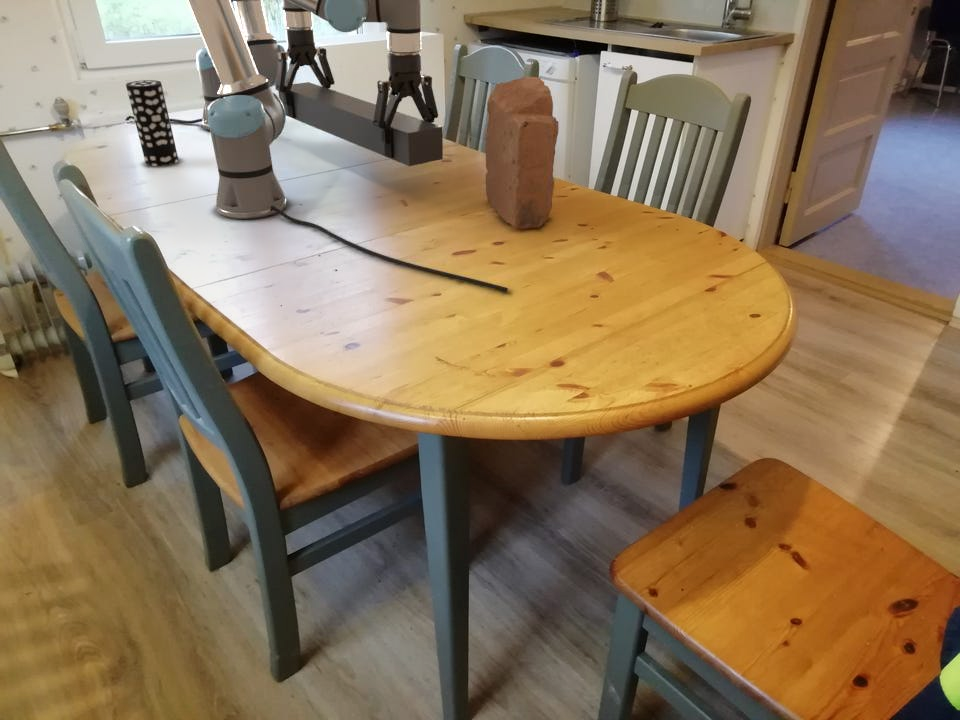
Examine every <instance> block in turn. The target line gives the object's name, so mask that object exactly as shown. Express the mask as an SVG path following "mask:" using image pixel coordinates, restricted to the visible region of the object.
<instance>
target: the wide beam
mask: <svg viewBox="0 0 960 720" xmlns="http://www.w3.org/2000/svg"><path fill="white" fill-rule="evenodd" d="M277 91H278V90H277ZM290 93H293V99H294V108H295V116H296V118H292V117H289V116H288V108H287V105H285V104H284V98H283V93H282V92H280V91H278V97H279V99H280V100H281V102H282V103H283V106H284V108H285V113H286V117H288V118H291V119H293V120H296V121H298V122H301V123H303V124H305V125H308V126H310V127H312V128H316V129H318V130H319V131H320V130H321V131H322V132H325V133H328V134H330V135H332V136H334V137H337V138H339V139H341V140H344V141H347V142H349V143H351V144H354V145H356V146H359V147H361V148H363V149H366V150H369V151H371V152H373V153H376V154H378V155H381V156H382V157H385V158H387V159H390V160H392V161H394V162H397V163H400V164H402V165H405V166H407V167H413V166H419V165H423V164H427V163H431V162H436V161H440V160H443V159H444V155H443V154H444V151H443V149H444V145H443V144H444V143H443V142H444V140H443V136H444V135H443V126H441V125H438V124H435V123H434V122H433V123H430V122H427V121H424V120H423V119H422V118H417V117H414V116H411V115H409V114H405V113H402V112H399V111H397V110H396V113H395V116H394V118H393V121H392V124H391V126H390V129H393V143H394V158H389V157H387V156H385V149H384V143H382V139H381V129H380V128H378V127H376V126H374V125H373V120H374V114H375V108H376V103H373V102H369V101H366V100H363V99H360V98H357V97H354V96H351V95H349V94H345V93H344V92H343V93H342V92H339V91H336V90H334V89H331V88H329V89H328V88H325V87H322V85H319V84H314V83H312V82H310V81H306V82H299V83H293V84H292V87H291V90H290Z"/></svg>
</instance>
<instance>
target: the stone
mask: <svg viewBox="0 0 960 720" xmlns="http://www.w3.org/2000/svg"><path fill="white" fill-rule="evenodd" d="M486 107H487V109H486V110H487V114H488V120H487V125H486V134H485V141H484V142H485V143H484V144H485V145H484V146H485V167H486V173H485V194H486V198H487V199H486V200H487V201H488V203H489V204H490V205H491V206H492V208H493V210H494V211H496V212H497V213H498V214H499V216H500V217H501V219H503V221H505V223H507V224H509V225H511V226H512V228H514V229H515V230H526V229H531V228H540V227H541V226H542V225H543V224H544V223H545V222H546V221H548V219H549V217H550V213H551V210H552V209H553V196H554V189H555V179H554V164H555V155H556V145H557V141H558V136H559V129H560V128H559V121H558V120H557V118H556V117H555V116H554V115H553V113H554V102H553V96H552V93H551V89H550V87H549V86H548V85H546V84H545V82H544V81H543V80H542V79H541V78H540V77H537V76H526V77H520V78H515V79H513V80H511V81H504V82H500V83H498V84H497V85H496V86H495V87H494V88H493V90H492V92H491V93H490V96H489V97H488V99H487V103H486Z"/></svg>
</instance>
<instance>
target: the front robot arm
mask: <svg viewBox="0 0 960 720" xmlns="http://www.w3.org/2000/svg"><path fill="white" fill-rule="evenodd" d="M287 1H289V2H291V3H293V4H295V5H297V6H299V7H301V8H303V9H305V10H307V11H309V12H311V13H312V15H315V16H317V17H319V18H320V19H322V20H323V21H326V22H327V23H328V24H329V25H330V26H331V27H332V28H333V29H334V30H336V31H338V32H341V33H352V32H355V31H356V30H358V29H360V28H362V25H363V24H364V23H379V24H381V23H385V26H386V27H385V30H386V49H387V51H388V52H389V53H387V70H388V74H389V76H388V79H387V80H378V81H377V83H376V85H377V95H376V102H375V104H376V108H375V114H374V120H373V125H374V126H376V127H378V128H380V129H381V139H382V143H384V149H385V156H387V157H386V158H388V157H389V158H388V159H390V158H394V143H393V129H390V126H391V124H392V121H393V118H394V116H395V113H396V111H397V110H398V108H399V105H400V103H401V102H403V99H406V98H407V97H410V98H411V99H412V100H413V103H414V104H415V107H416V108H417V110H418V112H419V115H420V116H421V120H424V121H427V122H430V123H433V124H434V122H435V119H438V117H439V112H438V108H437V102H436V98H435V95H434V90H433V77H432V76H431V75H427V74H421V72H422V55H421V53H420V52H421V51H422V32H421V31H422V30H421V24H422V23H421V21H422V20H421V0H287ZM186 2H187V3H188V6H189V9H190V10H191V11H190V12H191V13H192V15H193V18H194V20H195V23H196V25H197V28H198V30H199V32H200V35H201V37H202V40H203V42H204V45H205V47H207V50H208V52H209V55H210V57H211V59H212V62H213V64H214V67H215V69H216V72H217V74H218V77H219V79H220V81H221V87H220V90H219V92H218V95H219V97H220V99H217V100H215V101H214V102H212V103H211V104H210V105H209V107H208V111H207V114H208V126H209V128H210V131H209V133H210V136H211V142H212V147H213V151H214V156H215V161H216V167H217V169H218V170H217V172H218V185H217V193H216V201H215V203H216V204H215V206H216V210H217V213H218V214H219V215H221V216H223V217H225V218H229V219H236V220H253V219H260V218H261V219H262V218H265V217H266V218H267V217H270V216H274V215H276V214H279V215H280V216H282V217H283V218H284V219H286V220H288V221H290V222H293V223H295V224H300V225H302V226H308V227H311V228H314V229H317V230H319V231H321V232H322V233H324V234H326V235H327V236H329V237H331V238H333V239H335V240H336V241H339V242H340V243H343V244H345V245H347V246H349V247H351V248H352V249H353V248H354V249H356V250H358V251H361V252H363V253H365V254H368V255H370V256H373V257H376V258H379V259H381V260H384V261H387V262H390V263H394V264H397V265H401V266H404V267H407V268H411V269H414V270H417V271H422V272H426V273H431V274H433V275H438V276H441V277H446V278H449V279H454V280H458V281H462V282H465V283H466V282H467V283H471V284H473V285H474V284H475V285H477V286H482V287H486V288H489V289H493V290H497V291H501V292H505V293H507V292H508V291H509V288H508V287H505V286H502V285H498V284H494V283H490V282H487V281H482V280H479V279H475V278H471V277H466V276H462V275H458V274H454V273H450V272H447V271H442V270H438V269H435V268H434V269H433V268H429V267H426V266H422V265H418V264H415V263H411V262H407V261H403V260H401V259H397V258H394V257H393V258H392V257H390V256H387V255H385V254H381V253H379V252H375V251H373V250H370V249H368V248H365V247H364V246H363V247H362V246H361V245H358V244H356V243H353V242H351V241H349V240H347V239H345V238H343V237H341V236H339V235H337V234H335V233H333V232H331V231H330V230H328V229H326V228H324V227H323V226H321V225H318V224H316V223H314V222H309V221H305V220H301V219H297V218H294V217H292V216H290V215H288V214H287V213H286V212H285V211H283V210H285V209H286V207H287V199H286V194H285V193H284V191H283V189H282V187H281V184H280V182H279V180H278V179H277V177H276V175H275V172H274V167H273V160H272V154H271V147H270V146H271V145H272V143H273V142H274V141H275V140H277V139H278V138H279V137H280V135H281V134H282V132H283V130H284V127H285V125H286V117H287V116H286V113H285V108H284V106H283V103H282V102H281V100H280V99H279V95H277V94H276V93H274V92H273V90H272V87H270V84H269V81H268V79H267V78H266V77H264V76H262V75H260V74H259V73H258V71H257V68H256V66H255V63H254V60H253V58H252V55H251V52H250V50H249V47H248V45H247V42H246V39H245V37H244V34H243V31H242V29H241V26H240V23H239V21H238V18H237V13H236V9H235V7H234V6H233V2H231V0H186ZM420 85H421V89H420ZM421 90H422V92H421ZM389 91H390V92H389ZM385 156H384V157H385Z"/></svg>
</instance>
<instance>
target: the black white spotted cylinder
mask: <svg viewBox="0 0 960 720" xmlns="http://www.w3.org/2000/svg"><path fill="white" fill-rule="evenodd" d="M125 87H126V91H127V95H128V99H129V103H130V107H131V110H132V116H134V119H135V120H134V119H133V120H134V122H135V123H134V124H135V127H136V130H137V134H138V139H139V143H140V146H141V150H142V155H143V158H144V163H145V164H146V165H147V166H151V167H164V166H170V165H174V164H176V163H178V162H179V155H178V150H177V146H176V142H175V137H174V133H173V128H172V125H171V121H170V120H169V119H170V116H169V111H168V107H167V103H166V98H165V93H164V89H163V84H162V81H161V80H155V79H154V80H153V79H151V80H150V79H145V80H144V79H141V80H134V81H130V82H129V81H128V82H127V83H126V84H125Z"/></svg>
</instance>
